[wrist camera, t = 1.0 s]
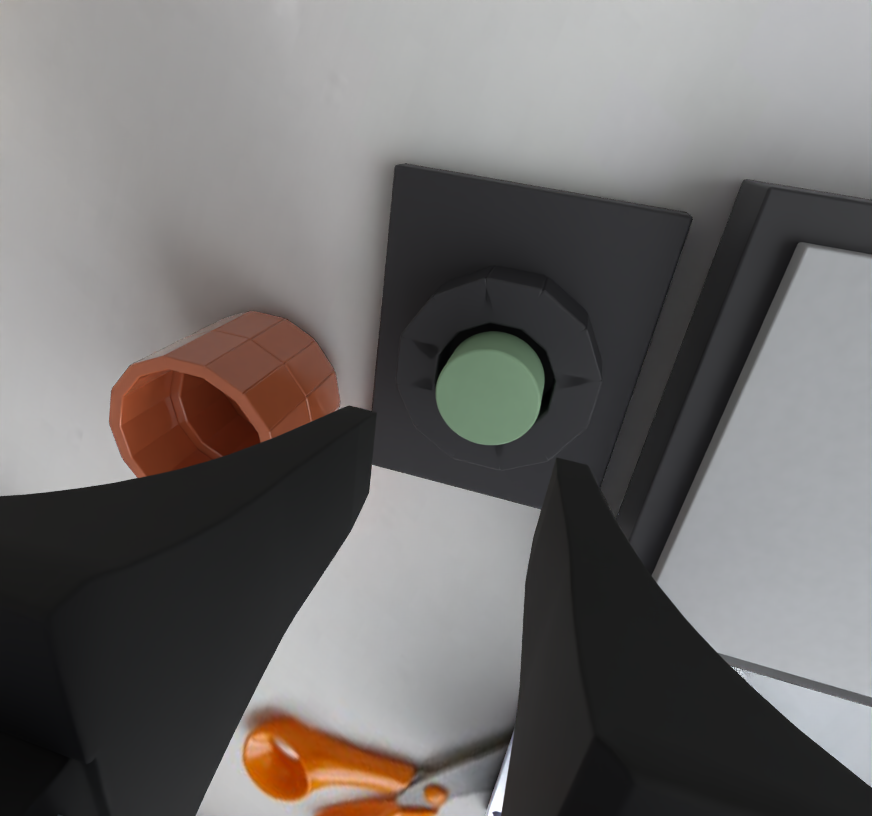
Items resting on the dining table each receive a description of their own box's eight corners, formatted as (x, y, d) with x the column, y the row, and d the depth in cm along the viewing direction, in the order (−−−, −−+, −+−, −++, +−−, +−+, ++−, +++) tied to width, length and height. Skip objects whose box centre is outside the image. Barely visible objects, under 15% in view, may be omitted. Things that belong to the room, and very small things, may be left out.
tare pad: (588, 507, 19) (588, 554, 17) (374, 451, 21) (349, 488, 18) (688, 212, 15) (706, 225, 13) (403, 162, 16) (374, 166, 14)
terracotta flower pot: (342, 458, 21) (278, 542, 17) (213, 424, 22) (120, 495, 18) (351, 326, 19) (278, 384, 14) (205, 293, 19) (94, 338, 15)
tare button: (532, 430, 16) (527, 457, 15) (441, 408, 17) (428, 432, 15) (555, 342, 15) (551, 362, 14) (455, 320, 15) (443, 338, 14)
